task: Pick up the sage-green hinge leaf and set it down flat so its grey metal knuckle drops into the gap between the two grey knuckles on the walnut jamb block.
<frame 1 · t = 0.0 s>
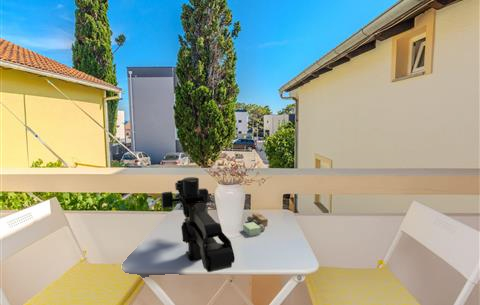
hand: (181, 193, 123), 16 cm above the table, tool horizontal, fingers open, 9 cm apart
hinge leaf: (261, 230, 125), on the table
hinge base: (252, 223, 133), on the table
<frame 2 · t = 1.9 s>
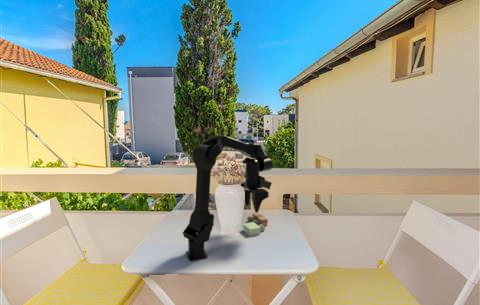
hand: (251, 209, 122), 10 cm above the table, tool pointing down, fingers open, 9 cm apart
nothing on the table moved.
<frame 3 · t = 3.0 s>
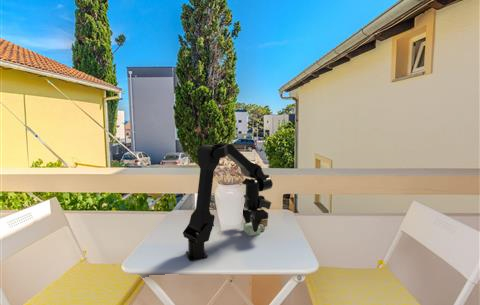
hand: (251, 228, 123), 2 cm above the table, tool pointing down, fingers closed on hinge leaf, 7 cm apart
hinge leaf: (261, 230, 125), on the table, touching gripper
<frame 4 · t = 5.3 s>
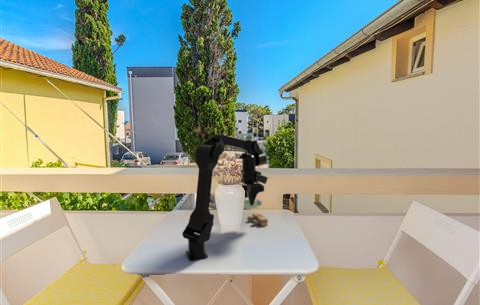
hand: (248, 203, 125), 12 cm above the table, tool pointing down, fingers closed on hinge leaf, 7 cm apart
hinge leaf: (258, 205, 127), point 10 cm above the table, touching gripper
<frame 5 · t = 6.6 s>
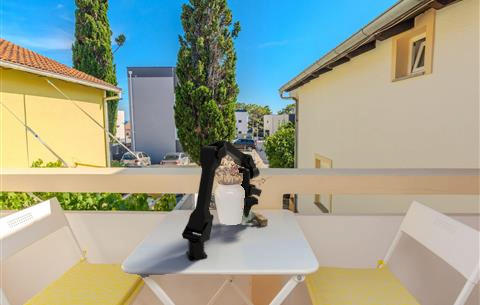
hand: (243, 214, 131), 5 cm above the table, tool pointing down, fingers closed on hinge leaf, 7 cm apart
hinge leaf: (252, 216, 133), point 3 cm above the table, touching gripper
when the fingers open (2 cm above the table, at t = 7.5 s): hinge leaf stays where it is, on the table.
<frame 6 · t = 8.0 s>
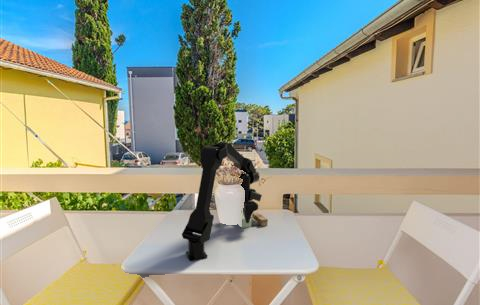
hand: (243, 219, 131), 2 cm above the table, tool pointing down, fingers open, 9 cm apart
hinge leaf: (252, 223, 133), on the table
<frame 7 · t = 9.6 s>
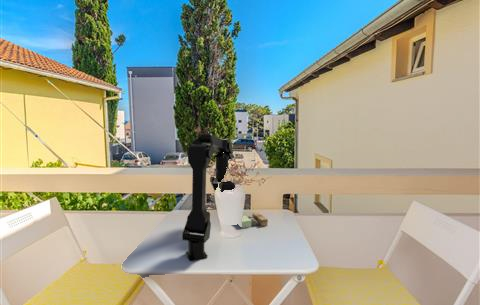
hand: (221, 201, 128), 12 cm above the table, tool pointing down, fingers open, 9 cm apart
nothing on the table moved.
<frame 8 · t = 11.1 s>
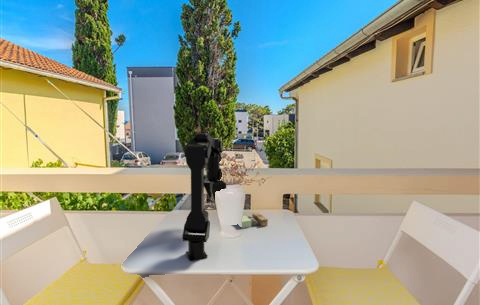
hand: (213, 200, 128), 12 cm above the table, tool pointing down, fingers open, 9 cm apart
nothing on the table moved.
at the end: hinge leaf 0.0 cm off-centre on the hinge base, point 0.0 cm above the hinge base's base; hinge leaf tilted 1°; the gripper is holding nothing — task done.
